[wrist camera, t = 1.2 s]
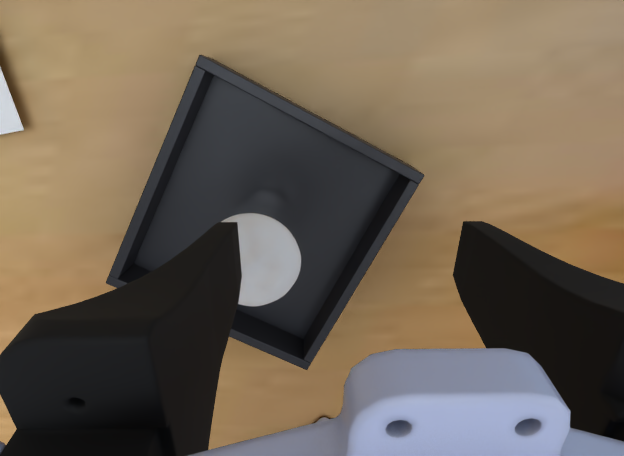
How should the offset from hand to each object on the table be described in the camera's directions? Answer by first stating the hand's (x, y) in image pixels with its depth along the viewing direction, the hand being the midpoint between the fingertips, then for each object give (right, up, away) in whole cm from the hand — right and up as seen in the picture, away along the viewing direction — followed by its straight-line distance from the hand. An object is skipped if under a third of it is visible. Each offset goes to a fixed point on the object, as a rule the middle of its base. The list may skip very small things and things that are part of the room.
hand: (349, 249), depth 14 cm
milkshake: (-4, +1, +14) cm, 15 cm away
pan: (-4, +1, +14) cm, 15 cm away
